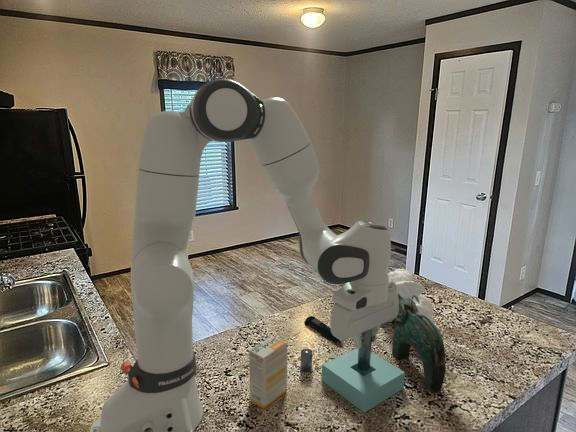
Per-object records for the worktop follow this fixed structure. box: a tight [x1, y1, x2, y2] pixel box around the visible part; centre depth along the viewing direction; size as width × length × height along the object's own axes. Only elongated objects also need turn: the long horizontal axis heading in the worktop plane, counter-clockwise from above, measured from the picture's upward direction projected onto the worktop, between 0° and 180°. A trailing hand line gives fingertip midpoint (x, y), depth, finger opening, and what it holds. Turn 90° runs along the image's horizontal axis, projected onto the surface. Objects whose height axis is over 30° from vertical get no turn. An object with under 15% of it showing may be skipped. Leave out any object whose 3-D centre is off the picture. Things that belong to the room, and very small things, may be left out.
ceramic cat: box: [391, 294, 447, 393], centre depth 100 cm, size 20×6×20 cm, turn 15°
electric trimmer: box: [304, 315, 340, 342], centre depth 120 cm, size 4×16×3 cm, turn 35°
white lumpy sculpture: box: [388, 267, 435, 324], centre depth 128 cm, size 19×20×20 cm
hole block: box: [321, 348, 406, 413], centre depth 95 cm, size 14×14×4 cm
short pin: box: [300, 347, 313, 373], centre depth 101 cm, size 3×3×5 cm
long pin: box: [357, 328, 373, 371], centre depth 93 cm, size 3×3×12 cm
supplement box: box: [248, 335, 288, 410], centre depth 90 cm, size 8×5×13 cm, turn 141°
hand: (365, 344), depth 93 cm, fingers closed on long pin, 3 cm apart
